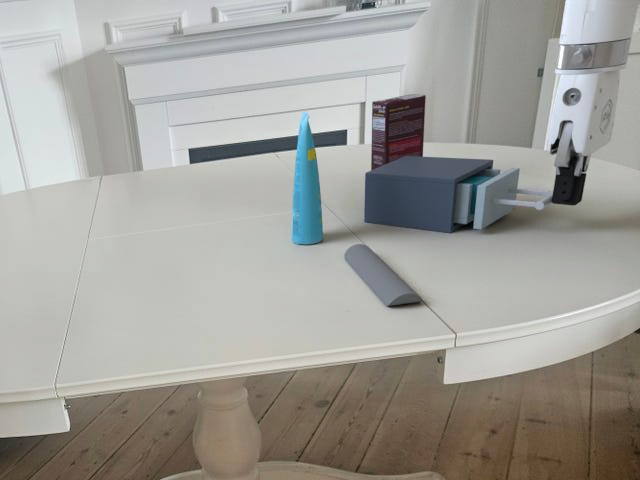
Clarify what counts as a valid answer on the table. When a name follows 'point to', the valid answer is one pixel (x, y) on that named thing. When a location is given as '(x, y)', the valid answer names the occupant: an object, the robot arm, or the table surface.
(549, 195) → the drawer
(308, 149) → the tube
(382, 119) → the supplement box
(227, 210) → the table surface
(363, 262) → the gray half cylinder
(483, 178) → the teal box
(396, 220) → the drawer cabinet
